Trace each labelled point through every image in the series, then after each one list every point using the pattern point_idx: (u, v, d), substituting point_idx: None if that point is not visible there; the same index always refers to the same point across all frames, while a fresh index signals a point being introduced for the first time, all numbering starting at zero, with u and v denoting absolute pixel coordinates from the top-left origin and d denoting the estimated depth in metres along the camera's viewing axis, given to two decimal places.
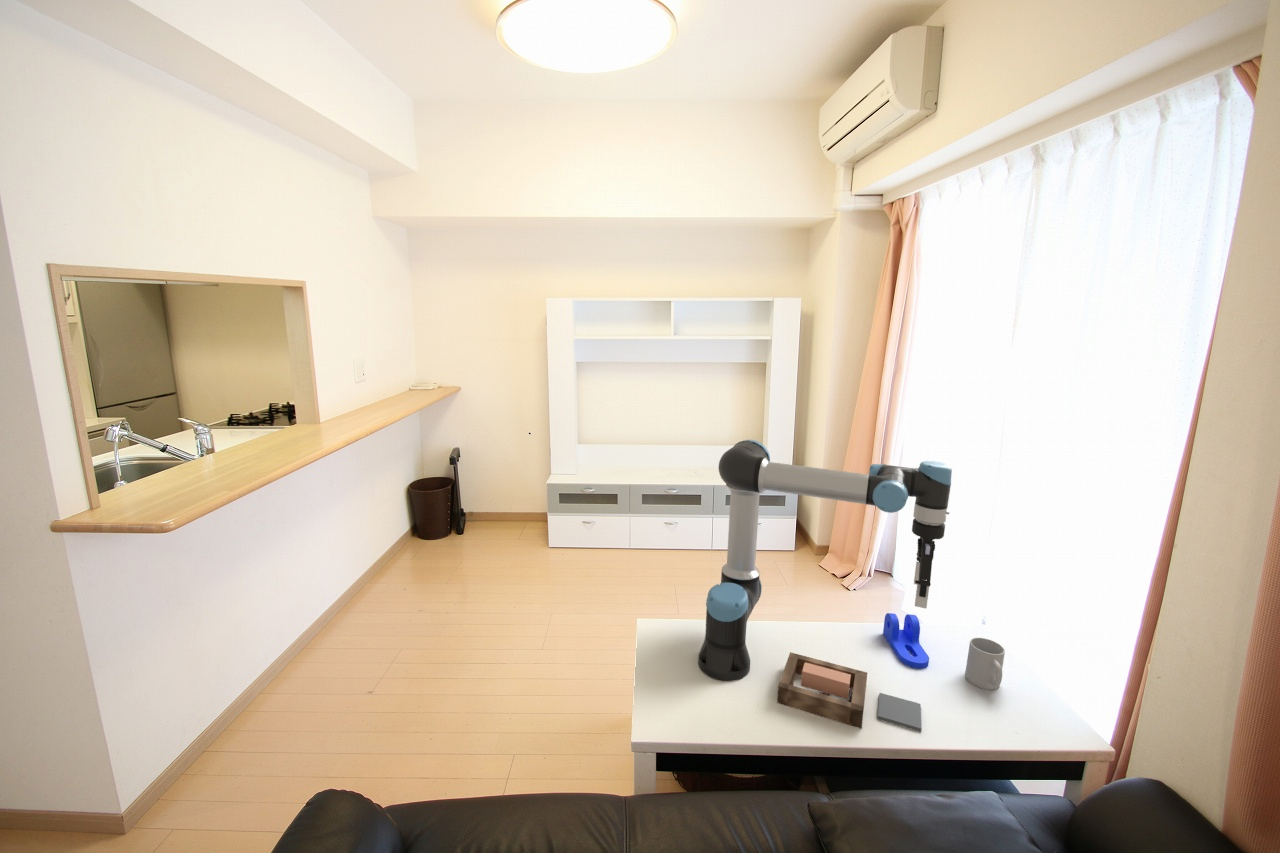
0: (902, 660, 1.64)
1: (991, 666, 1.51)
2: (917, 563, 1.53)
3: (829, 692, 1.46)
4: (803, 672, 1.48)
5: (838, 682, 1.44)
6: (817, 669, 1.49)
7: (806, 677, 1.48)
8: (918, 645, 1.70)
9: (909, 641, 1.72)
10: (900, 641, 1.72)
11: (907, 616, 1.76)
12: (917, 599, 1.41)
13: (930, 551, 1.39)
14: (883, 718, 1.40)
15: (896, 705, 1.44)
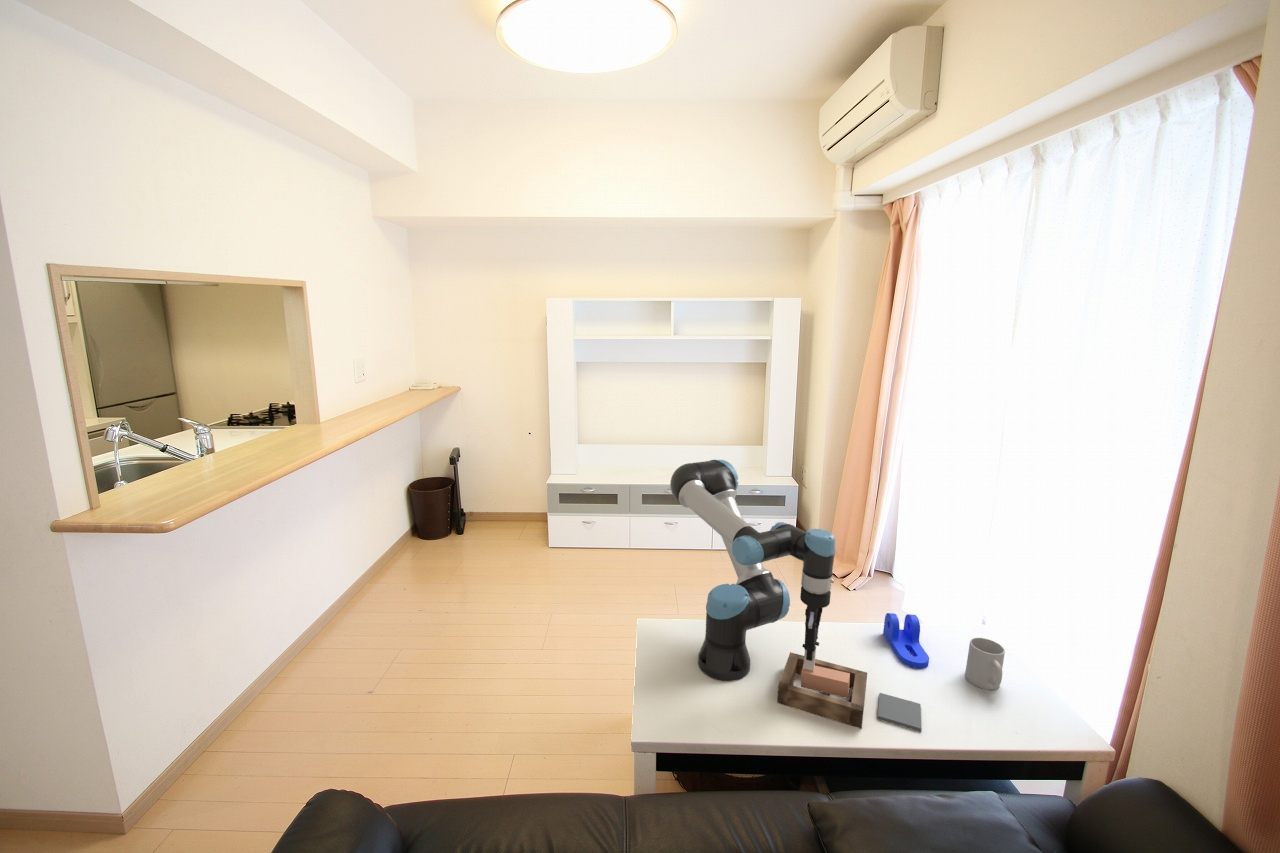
0: (902, 660, 1.64)
1: (991, 666, 1.51)
2: None
3: (829, 692, 1.46)
4: (802, 673, 1.48)
5: (837, 681, 1.44)
6: (816, 669, 1.49)
7: (805, 678, 1.48)
8: (918, 645, 1.70)
9: (909, 641, 1.72)
10: (900, 641, 1.72)
11: (907, 616, 1.76)
12: (805, 662, 1.49)
13: (812, 628, 1.41)
14: (883, 718, 1.40)
15: (896, 705, 1.44)
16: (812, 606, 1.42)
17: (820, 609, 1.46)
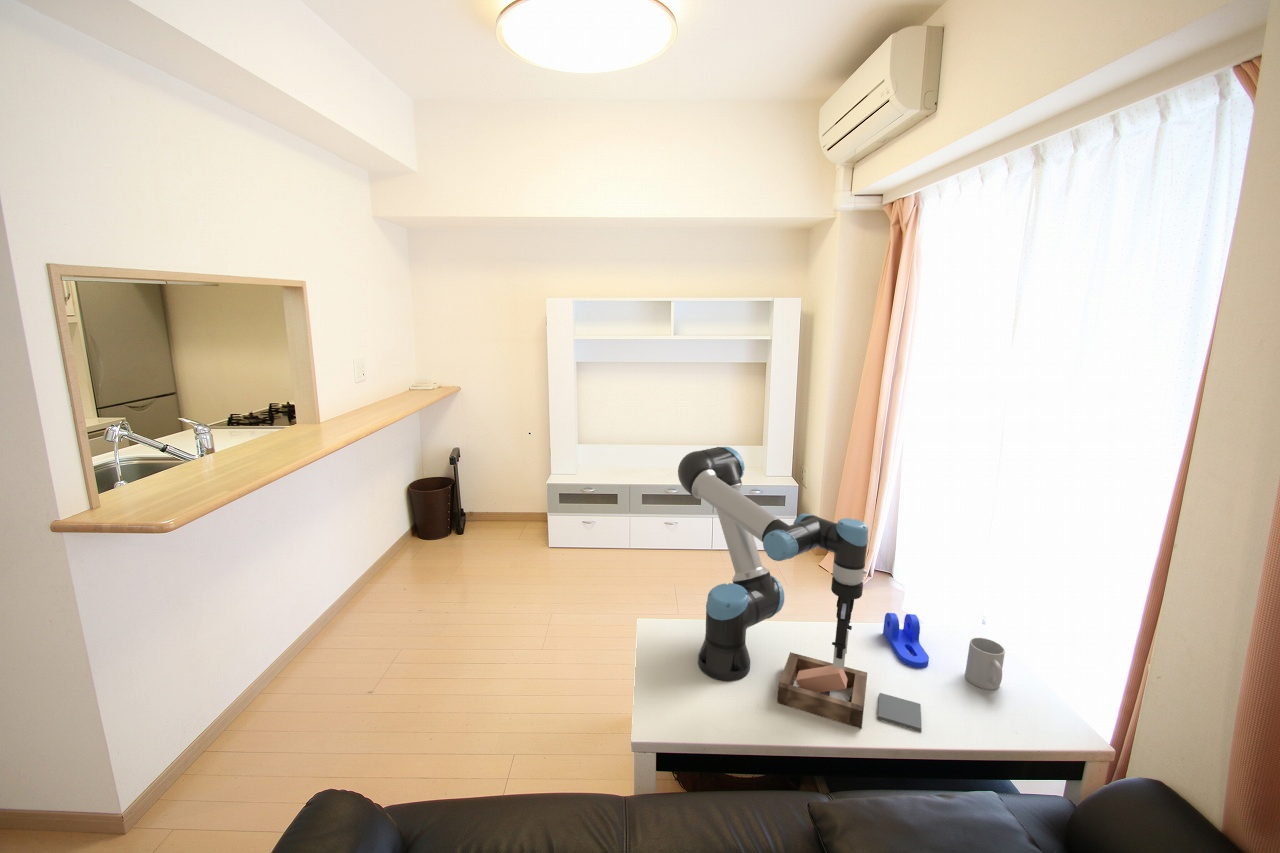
0: (902, 659, 1.65)
1: (991, 666, 1.51)
2: None
3: (828, 689, 1.46)
4: (797, 680, 1.49)
5: (829, 675, 1.45)
6: (810, 672, 1.50)
7: (802, 684, 1.49)
8: (918, 645, 1.70)
9: (909, 641, 1.73)
10: (900, 641, 1.72)
11: (907, 616, 1.76)
12: (835, 660, 1.42)
13: (845, 617, 1.36)
14: (883, 718, 1.40)
15: (896, 705, 1.44)
16: (844, 597, 1.38)
17: (852, 601, 1.42)
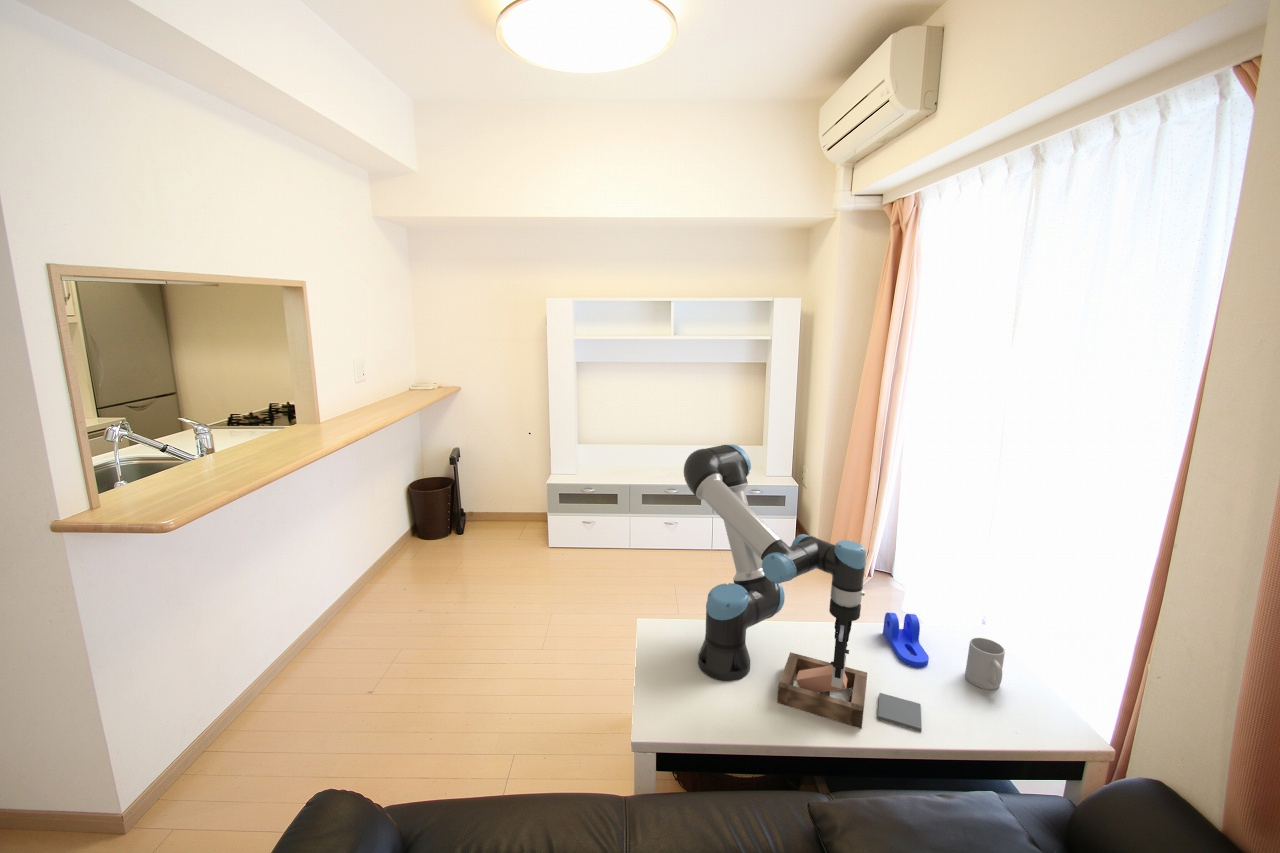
0: (902, 659, 1.65)
1: (991, 666, 1.51)
2: None
3: (828, 689, 1.46)
4: (797, 680, 1.49)
5: (829, 675, 1.45)
6: (810, 672, 1.50)
7: (802, 684, 1.49)
8: (918, 644, 1.71)
9: (909, 640, 1.73)
10: (900, 640, 1.73)
11: (907, 615, 1.76)
12: (833, 680, 1.44)
13: (842, 640, 1.38)
14: (883, 718, 1.40)
15: (896, 705, 1.44)
16: (842, 619, 1.40)
17: (850, 622, 1.43)
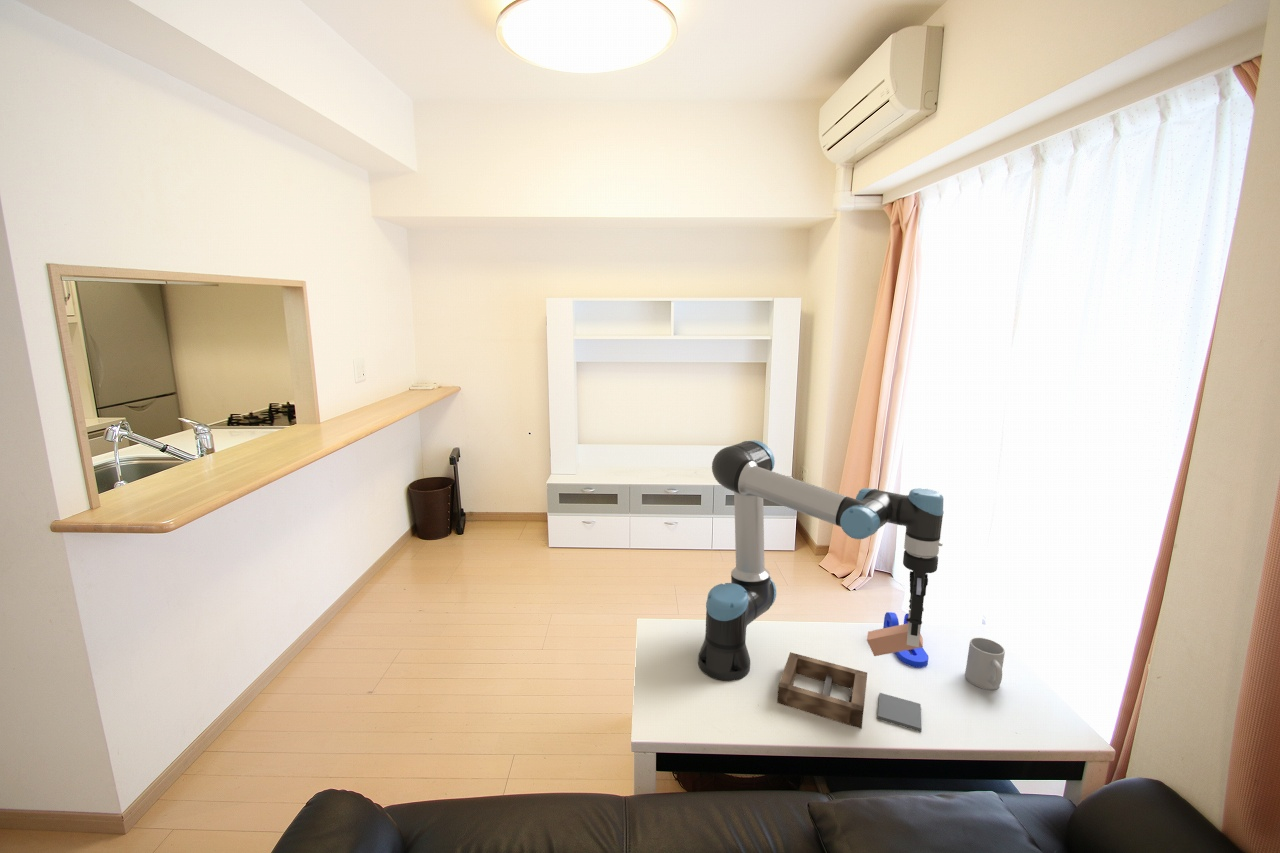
0: (901, 659, 1.65)
1: (991, 666, 1.51)
2: (910, 612, 1.39)
3: (902, 649, 1.37)
4: (868, 640, 1.41)
5: (904, 633, 1.36)
6: (881, 632, 1.41)
7: (874, 645, 1.40)
8: None
9: None
10: None
11: (907, 615, 1.76)
12: (909, 638, 1.35)
13: (921, 593, 1.29)
14: (883, 718, 1.40)
15: (896, 705, 1.44)
16: (919, 571, 1.31)
17: (925, 576, 1.35)
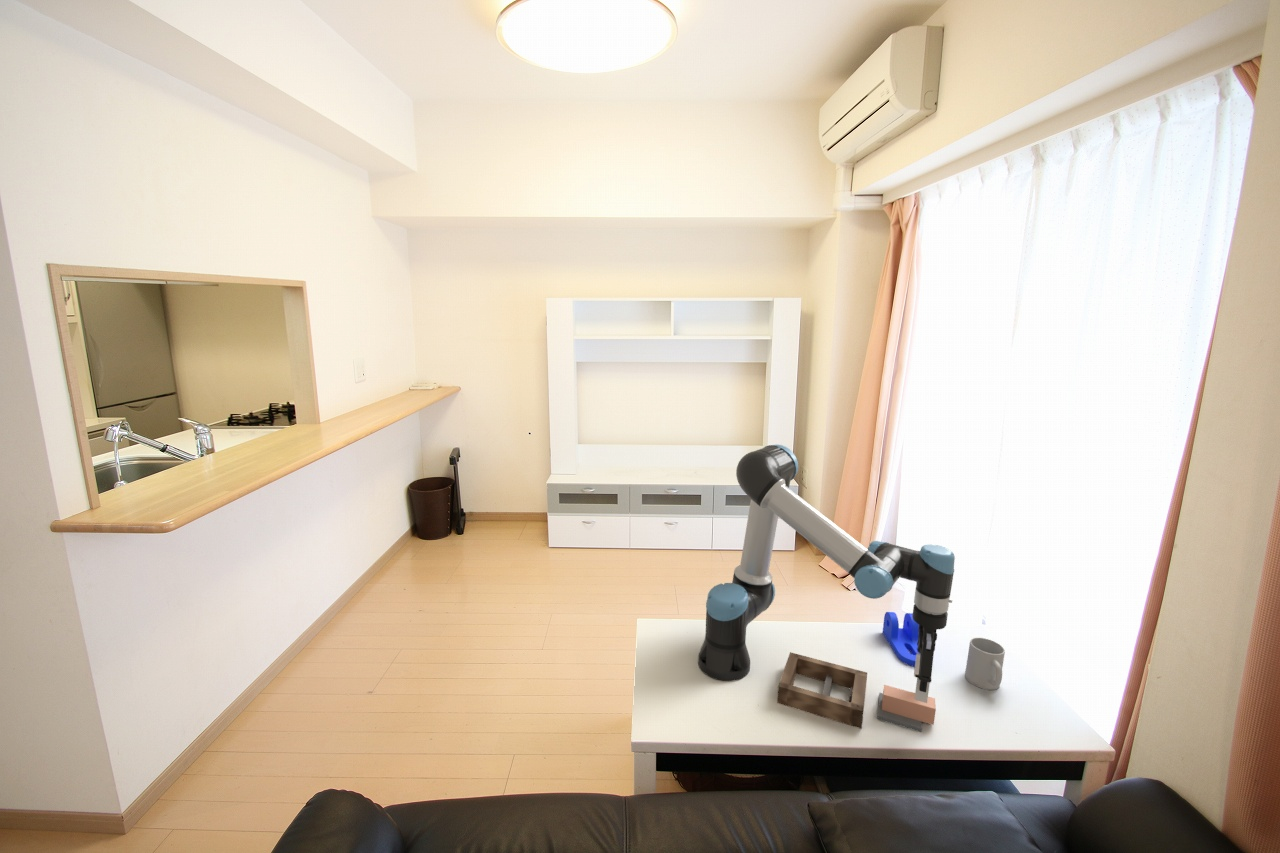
0: (901, 658, 1.65)
1: (991, 666, 1.51)
2: (917, 655, 1.43)
3: (913, 717, 1.40)
4: (884, 696, 1.42)
5: (923, 707, 1.38)
6: (898, 692, 1.43)
7: (887, 701, 1.42)
8: None
9: (908, 640, 1.73)
10: (899, 640, 1.73)
11: (906, 615, 1.77)
12: (918, 693, 1.35)
13: (931, 647, 1.31)
14: (883, 718, 1.40)
15: None
16: (929, 627, 1.33)
17: (934, 631, 1.37)
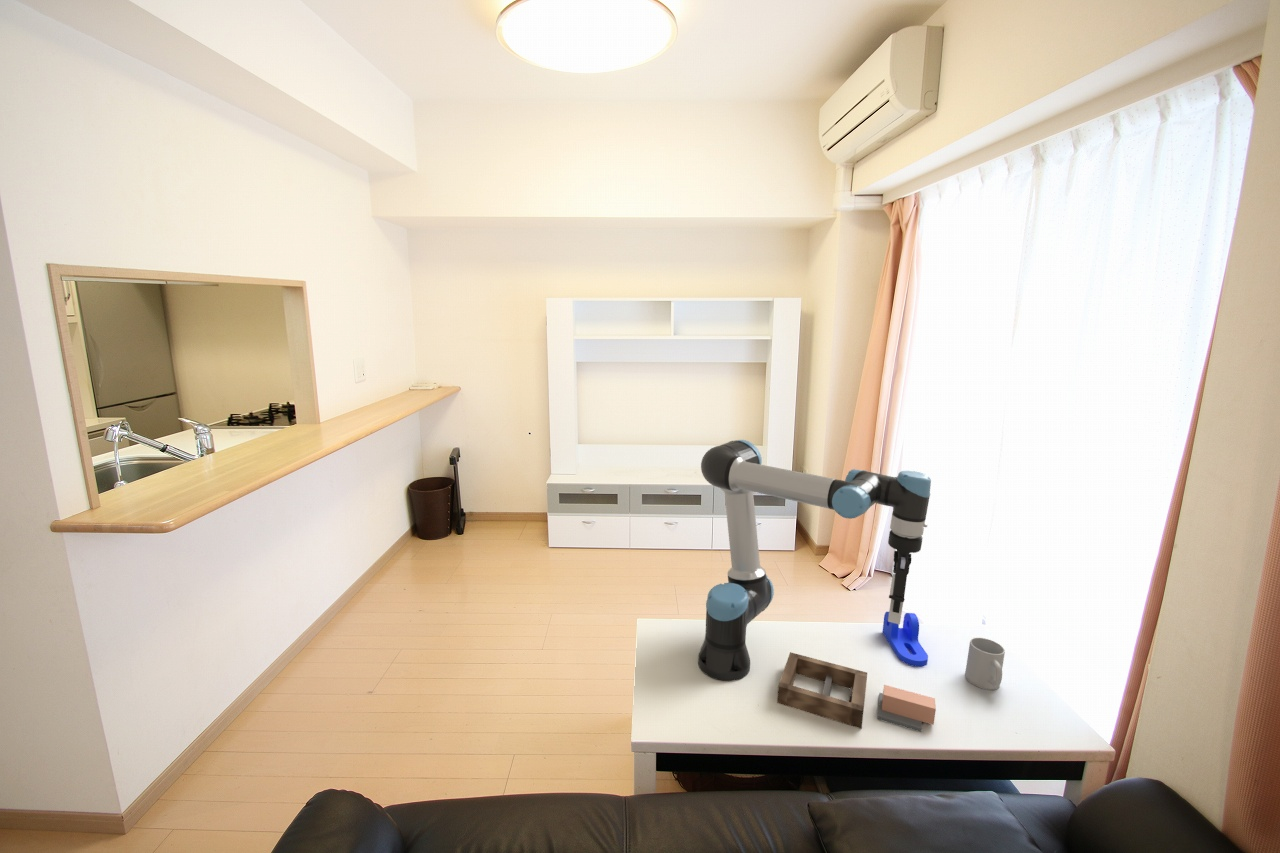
0: (901, 658, 1.65)
1: (991, 666, 1.51)
2: (893, 576, 1.47)
3: (913, 717, 1.40)
4: (884, 696, 1.42)
5: (923, 707, 1.38)
6: (898, 692, 1.43)
7: (887, 701, 1.42)
8: (917, 643, 1.71)
9: (908, 639, 1.73)
10: (899, 639, 1.73)
11: (906, 614, 1.77)
12: (891, 615, 1.36)
13: (905, 566, 1.32)
14: (883, 718, 1.40)
15: None
16: (903, 551, 1.35)
17: (909, 557, 1.39)
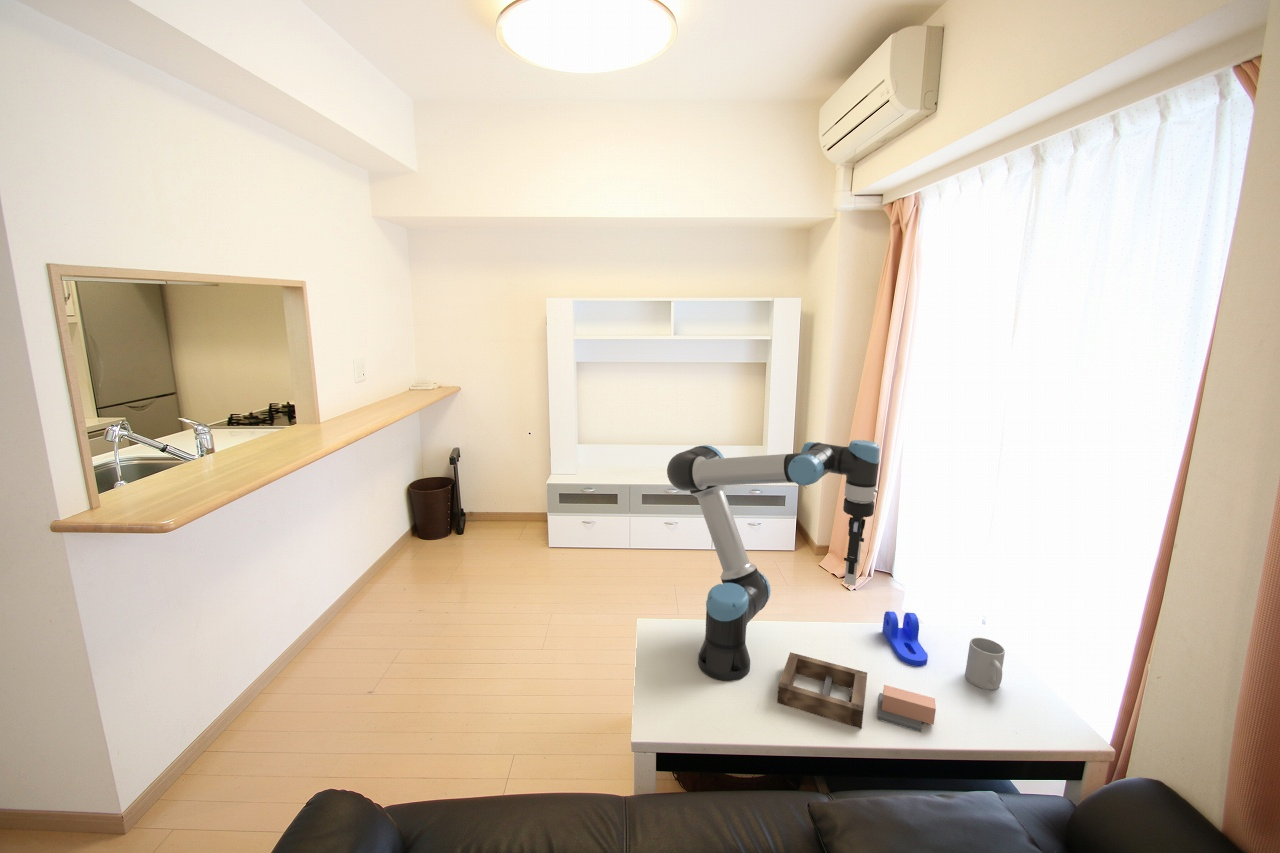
0: (901, 658, 1.66)
1: (991, 666, 1.51)
2: None
3: (913, 717, 1.40)
4: (884, 696, 1.42)
5: (923, 707, 1.38)
6: (898, 692, 1.43)
7: (887, 701, 1.42)
8: (917, 643, 1.71)
9: (908, 639, 1.73)
10: (899, 639, 1.73)
11: (906, 614, 1.77)
12: (847, 577, 1.43)
13: (857, 529, 1.40)
14: (883, 718, 1.40)
15: None
16: (856, 515, 1.43)
17: None
